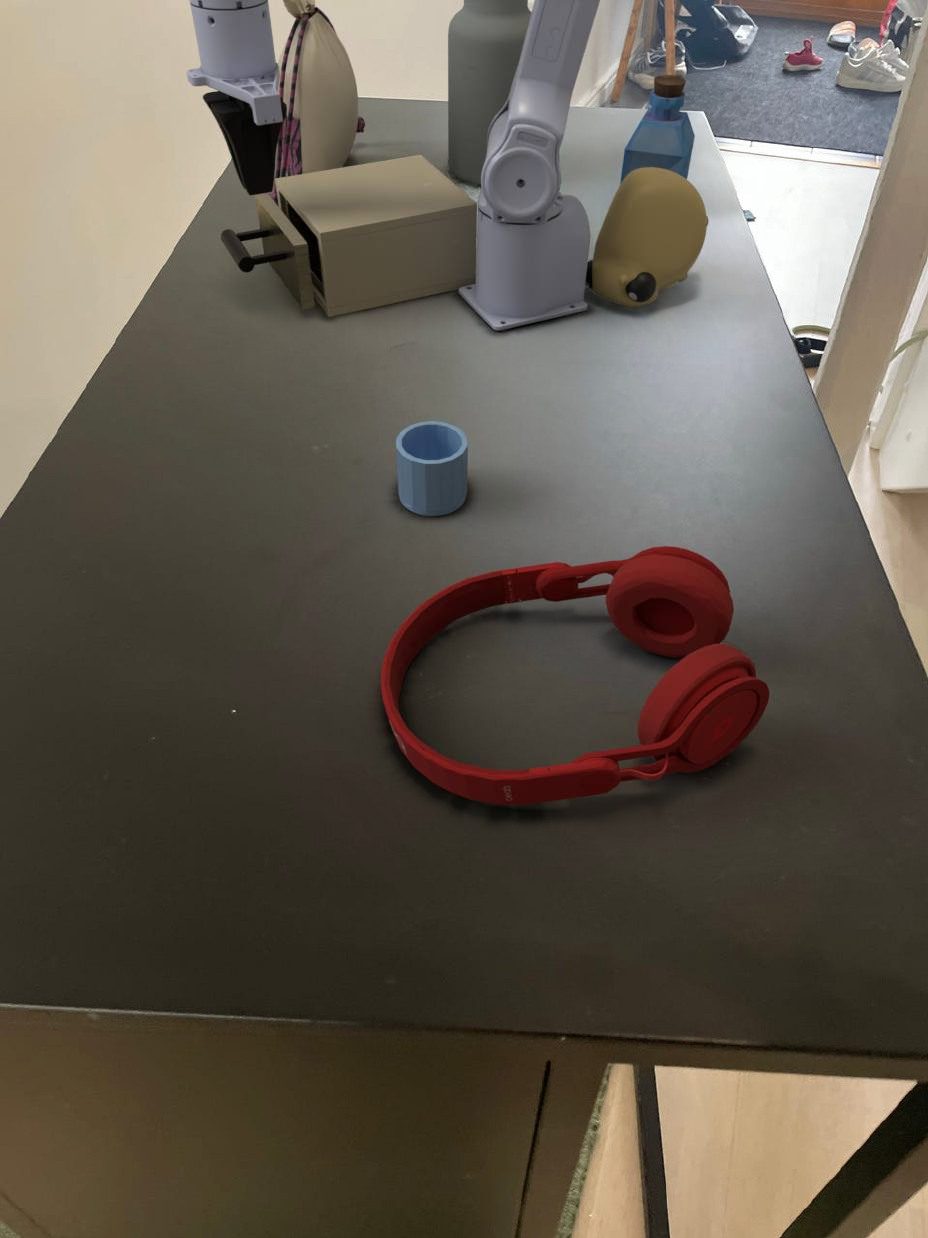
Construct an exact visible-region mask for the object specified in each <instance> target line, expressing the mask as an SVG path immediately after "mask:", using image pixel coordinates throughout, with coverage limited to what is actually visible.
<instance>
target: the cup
mask: <svg viewBox="0 0 928 1238" xmlns="http://www.w3.org/2000/svg"><path fill="white" fill-rule="evenodd" d="M468 443H469V442H468V437H467V435H466V433H465V432H464V431H463V430H462V429H461V428H460V427H457V426H455V425H453V424H452V423H447V422H444V421H437V420H430V421H428V420H427V421H421V422H417V423H413V424H410V425H409V426H406V427H405V428H404V429H402V430H401V431H400V432H399V433H398V435H397V437H396V438H395V453H396V454H395V455H396V473H397V490H398V491H397V492H398V498H399V499H398V500H399V501H400V504H401V505H402V506H403V507H404V508H405V509H407V510H408V511H410V512H412V513H415V514H417V515H420V516H425V517H439V516H445V515H449V514H451V513H453V512H455V511H457V510H458V509H460V508H461V507H462V506H463V505H464V503H465V502H466V500H467V496H468V468H469V467H468V461H469V460H468V459H469V454H468V453H469V452H468V451H469V444H468Z"/></svg>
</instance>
